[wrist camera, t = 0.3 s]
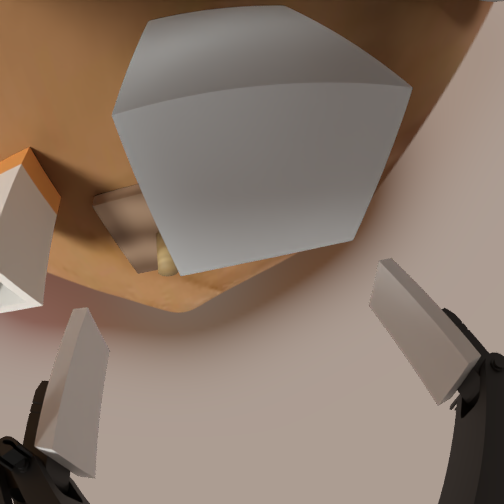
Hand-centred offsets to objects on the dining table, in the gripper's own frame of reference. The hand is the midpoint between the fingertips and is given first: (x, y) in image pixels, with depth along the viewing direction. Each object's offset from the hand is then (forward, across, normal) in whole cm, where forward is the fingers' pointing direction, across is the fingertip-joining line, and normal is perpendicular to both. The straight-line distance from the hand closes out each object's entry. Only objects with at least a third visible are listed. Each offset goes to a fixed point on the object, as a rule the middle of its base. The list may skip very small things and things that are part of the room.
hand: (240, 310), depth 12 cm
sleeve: (+12, -16, +5) cm, 21 cm away
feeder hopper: (+10, +1, +11) cm, 15 cm away
